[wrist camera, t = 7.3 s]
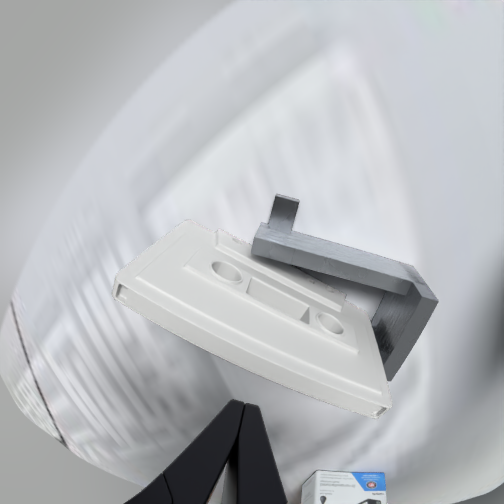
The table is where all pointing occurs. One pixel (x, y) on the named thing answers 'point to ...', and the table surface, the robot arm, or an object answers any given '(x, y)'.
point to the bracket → (355, 279)
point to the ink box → (344, 488)
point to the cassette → (258, 316)
